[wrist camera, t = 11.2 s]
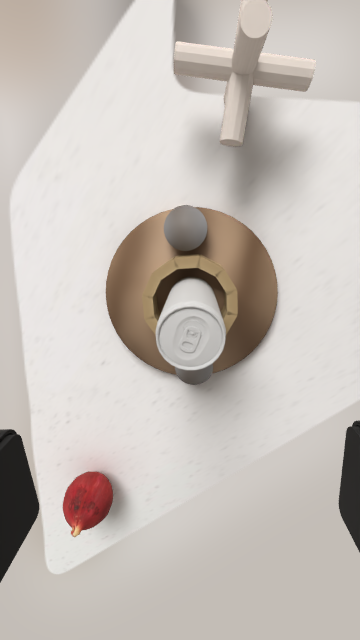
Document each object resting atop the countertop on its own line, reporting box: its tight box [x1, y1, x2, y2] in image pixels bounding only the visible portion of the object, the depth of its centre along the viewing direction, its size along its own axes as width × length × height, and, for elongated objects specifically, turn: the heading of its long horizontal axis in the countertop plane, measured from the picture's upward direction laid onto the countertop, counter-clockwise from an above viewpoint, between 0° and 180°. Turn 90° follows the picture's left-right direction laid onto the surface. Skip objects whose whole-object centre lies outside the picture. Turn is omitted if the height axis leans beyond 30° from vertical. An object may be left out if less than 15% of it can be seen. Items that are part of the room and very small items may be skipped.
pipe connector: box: [174, 0, 316, 147], centre depth 21 cm, size 10×10×10 cm
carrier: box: [106, 205, 278, 385], centre depth 29 cm, size 18×18×4 cm
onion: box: [63, 472, 113, 537], centre depth 35 cm, size 6×6×8 cm
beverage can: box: [156, 277, 226, 370], centre depth 24 cm, size 5×5×12 cm
